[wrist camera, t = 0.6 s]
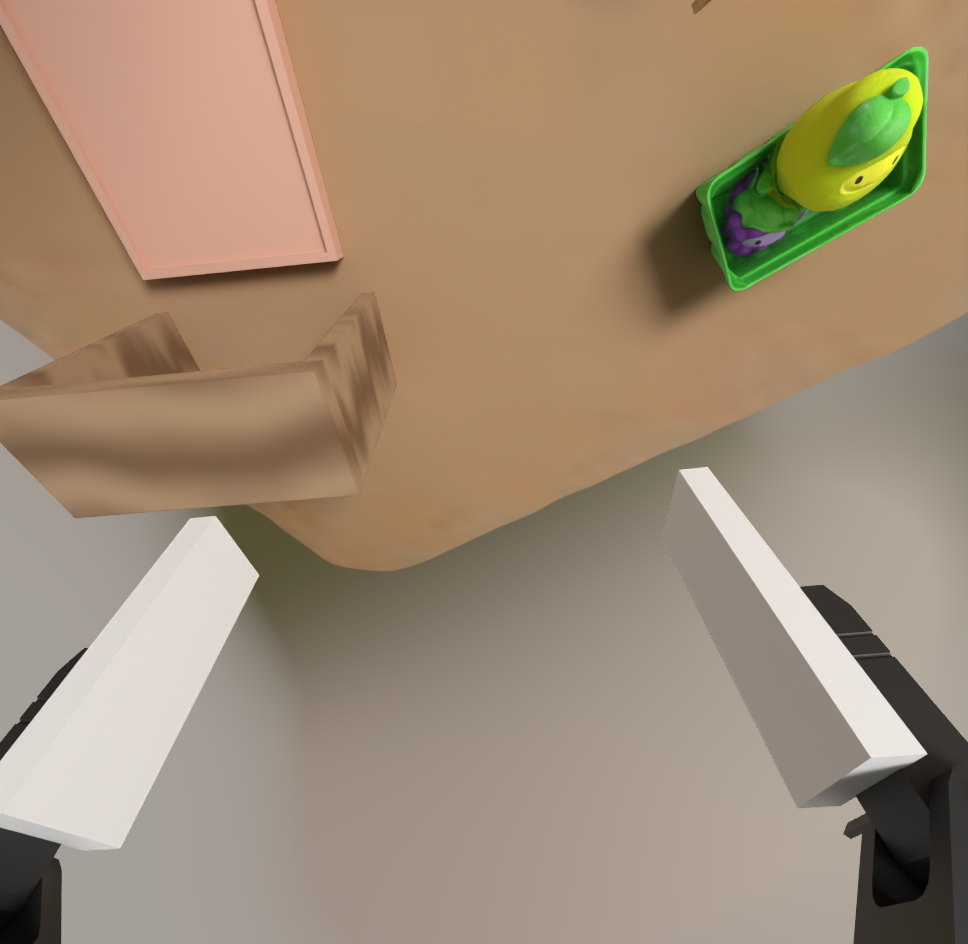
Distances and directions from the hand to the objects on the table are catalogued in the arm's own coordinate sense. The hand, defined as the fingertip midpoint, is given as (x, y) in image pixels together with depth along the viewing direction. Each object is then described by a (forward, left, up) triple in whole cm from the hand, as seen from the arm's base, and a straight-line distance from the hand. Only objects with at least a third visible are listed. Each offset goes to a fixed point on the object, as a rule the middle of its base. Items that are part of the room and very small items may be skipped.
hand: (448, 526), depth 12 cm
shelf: (+3, -16, -26) cm, 30 cm away
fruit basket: (-6, +22, -26) cm, 35 cm away
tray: (-11, -16, -26) cm, 32 cm away
